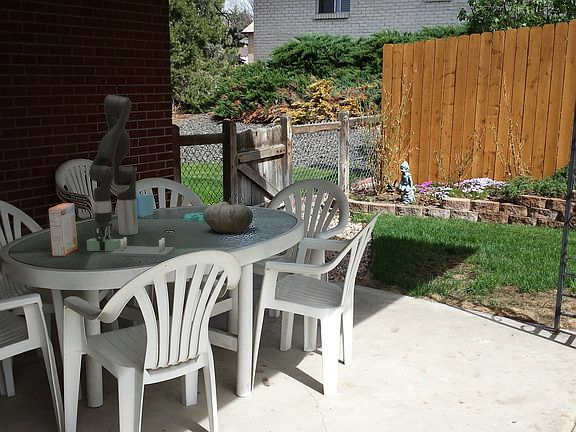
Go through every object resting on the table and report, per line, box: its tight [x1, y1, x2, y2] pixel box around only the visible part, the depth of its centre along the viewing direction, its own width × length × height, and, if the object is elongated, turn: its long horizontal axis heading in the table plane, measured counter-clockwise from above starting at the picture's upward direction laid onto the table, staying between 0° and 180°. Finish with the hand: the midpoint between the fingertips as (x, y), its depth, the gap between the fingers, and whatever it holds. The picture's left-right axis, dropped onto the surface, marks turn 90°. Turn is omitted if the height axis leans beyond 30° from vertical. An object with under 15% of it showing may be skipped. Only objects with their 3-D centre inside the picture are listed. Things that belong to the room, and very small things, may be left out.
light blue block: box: [136, 193, 155, 218], centre depth 387 cm, size 12×4×12 cm, turn 152°
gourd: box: [202, 197, 254, 234], centre depth 342 cm, size 25×25×17 cm
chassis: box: [109, 236, 175, 258], centre depth 295 cm, size 14×24×6 cm, turn 82°
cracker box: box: [48, 202, 78, 257], centre depth 295 cm, size 14×6×21 cm, turn 174°
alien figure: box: [183, 212, 205, 224], centre depth 378 cm, size 20×2×20 cm
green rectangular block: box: [86, 238, 121, 252], centre depth 302 cm, size 5×14×4 cm, turn 83°
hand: (104, 248), depth 302 cm, fingers closed on green rectangular block, 5 cm apart
